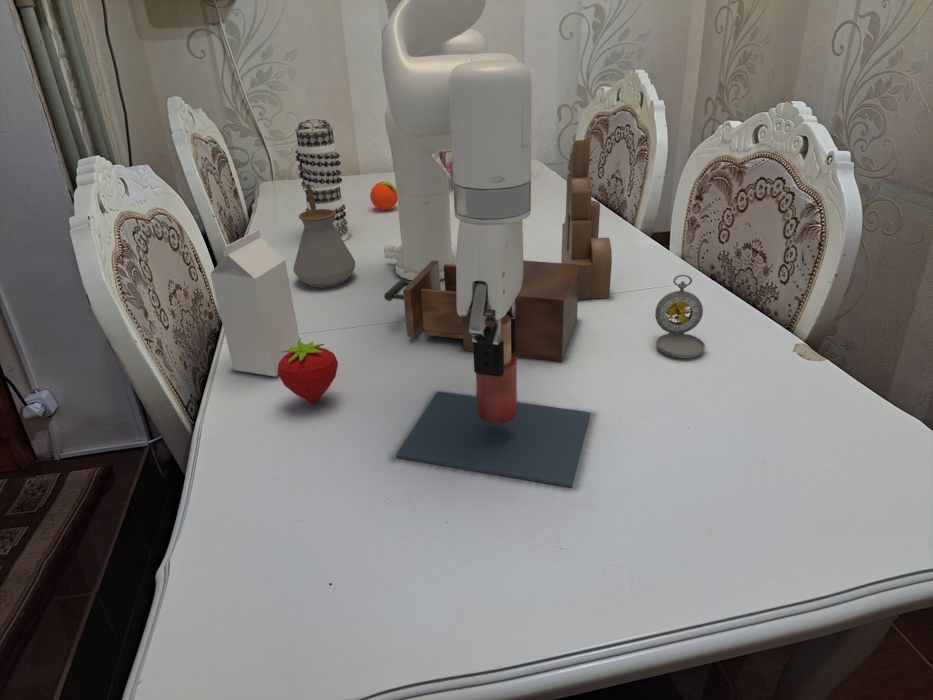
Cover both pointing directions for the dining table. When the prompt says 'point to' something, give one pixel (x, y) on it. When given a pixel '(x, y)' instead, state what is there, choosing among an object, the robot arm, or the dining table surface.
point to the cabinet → (542, 311)
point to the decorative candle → (321, 169)
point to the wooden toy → (585, 229)
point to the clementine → (384, 196)
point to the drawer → (430, 302)
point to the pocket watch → (676, 339)
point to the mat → (499, 440)
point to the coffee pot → (321, 249)
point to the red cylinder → (499, 384)
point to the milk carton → (255, 305)
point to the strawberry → (308, 370)
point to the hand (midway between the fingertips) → (495, 360)
